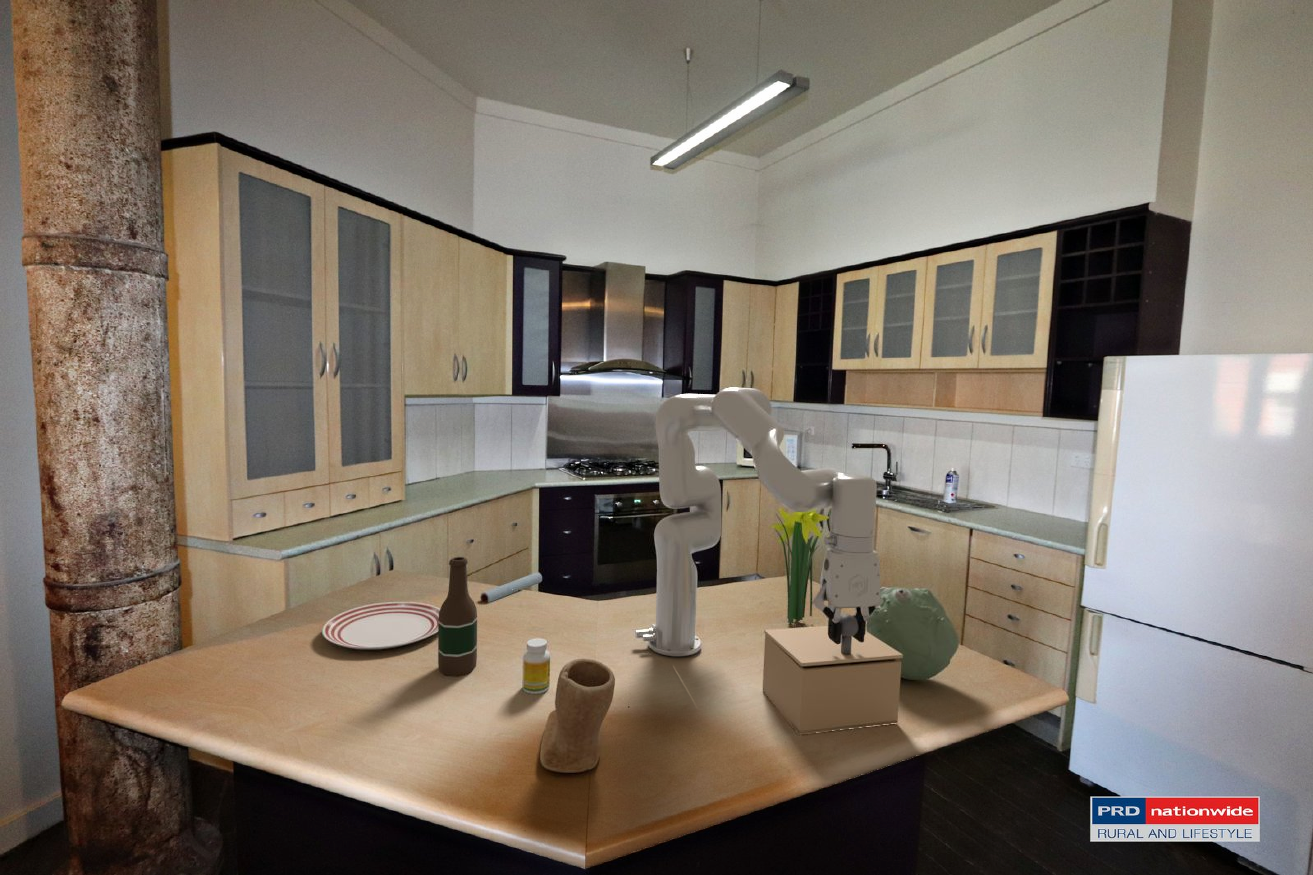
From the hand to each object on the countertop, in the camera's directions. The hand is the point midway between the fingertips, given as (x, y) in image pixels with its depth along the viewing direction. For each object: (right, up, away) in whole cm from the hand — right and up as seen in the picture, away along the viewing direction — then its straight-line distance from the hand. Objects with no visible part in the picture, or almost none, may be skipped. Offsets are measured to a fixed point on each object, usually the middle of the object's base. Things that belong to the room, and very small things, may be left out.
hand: (846, 639), depth 109 cm
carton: (-2, -15, +6) cm, 17 cm away
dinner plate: (-100, -10, +34) cm, 106 cm away
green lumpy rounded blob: (+20, -15, +20) cm, 32 cm away
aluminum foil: (-76, -9, +65) cm, 100 cm away
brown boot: (-48, -15, -10) cm, 52 cm away
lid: (-1, -3, +5) cm, 6 cm away
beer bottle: (-77, -12, +17) cm, 80 cm away
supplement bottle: (-59, -13, +10) cm, 61 cm away
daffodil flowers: (+2, -12, +51) cm, 53 cm away
